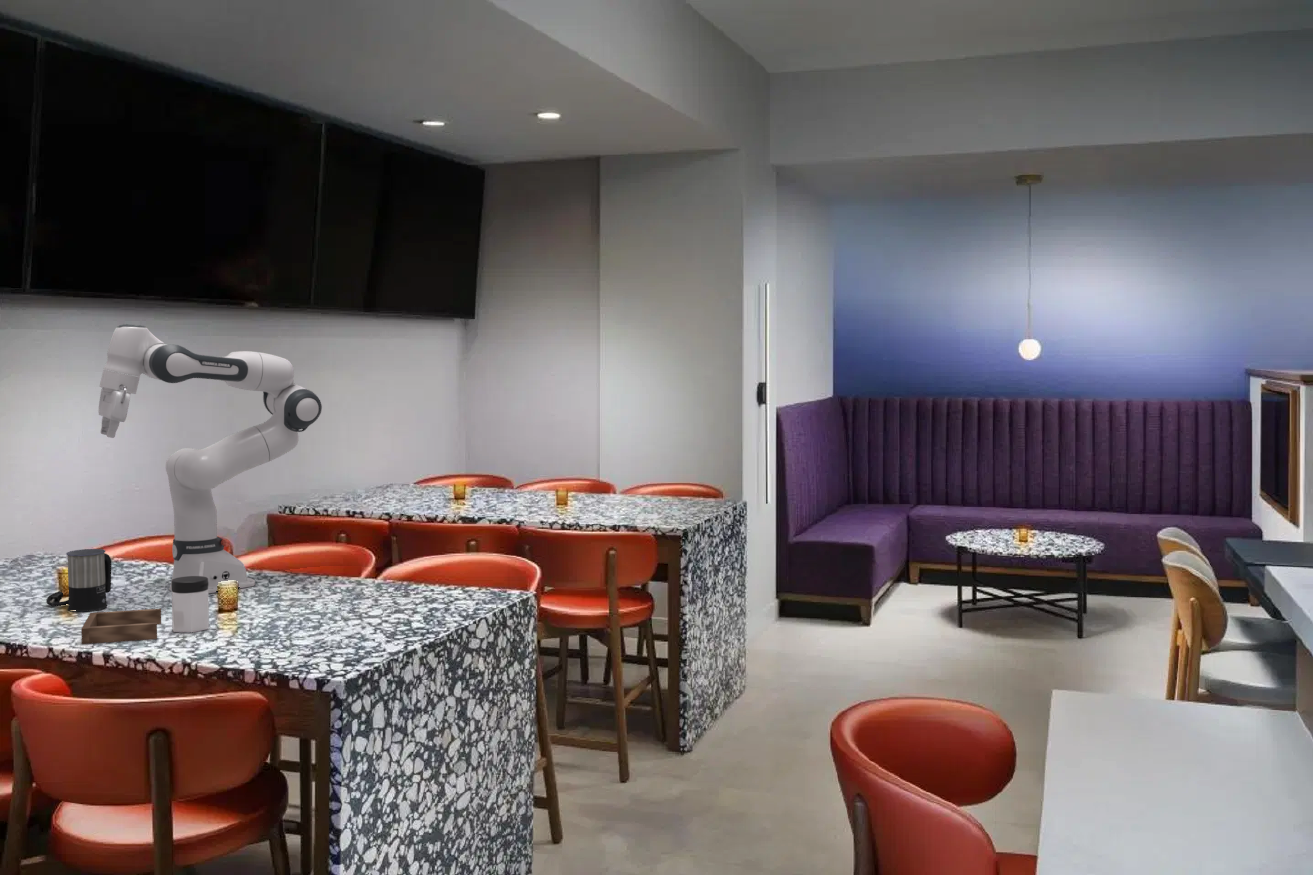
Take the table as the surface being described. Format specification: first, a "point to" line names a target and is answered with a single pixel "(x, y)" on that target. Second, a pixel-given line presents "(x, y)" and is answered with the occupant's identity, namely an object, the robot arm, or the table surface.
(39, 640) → the table surface
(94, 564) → the milk frother
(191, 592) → the jar
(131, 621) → the brown square open piece
